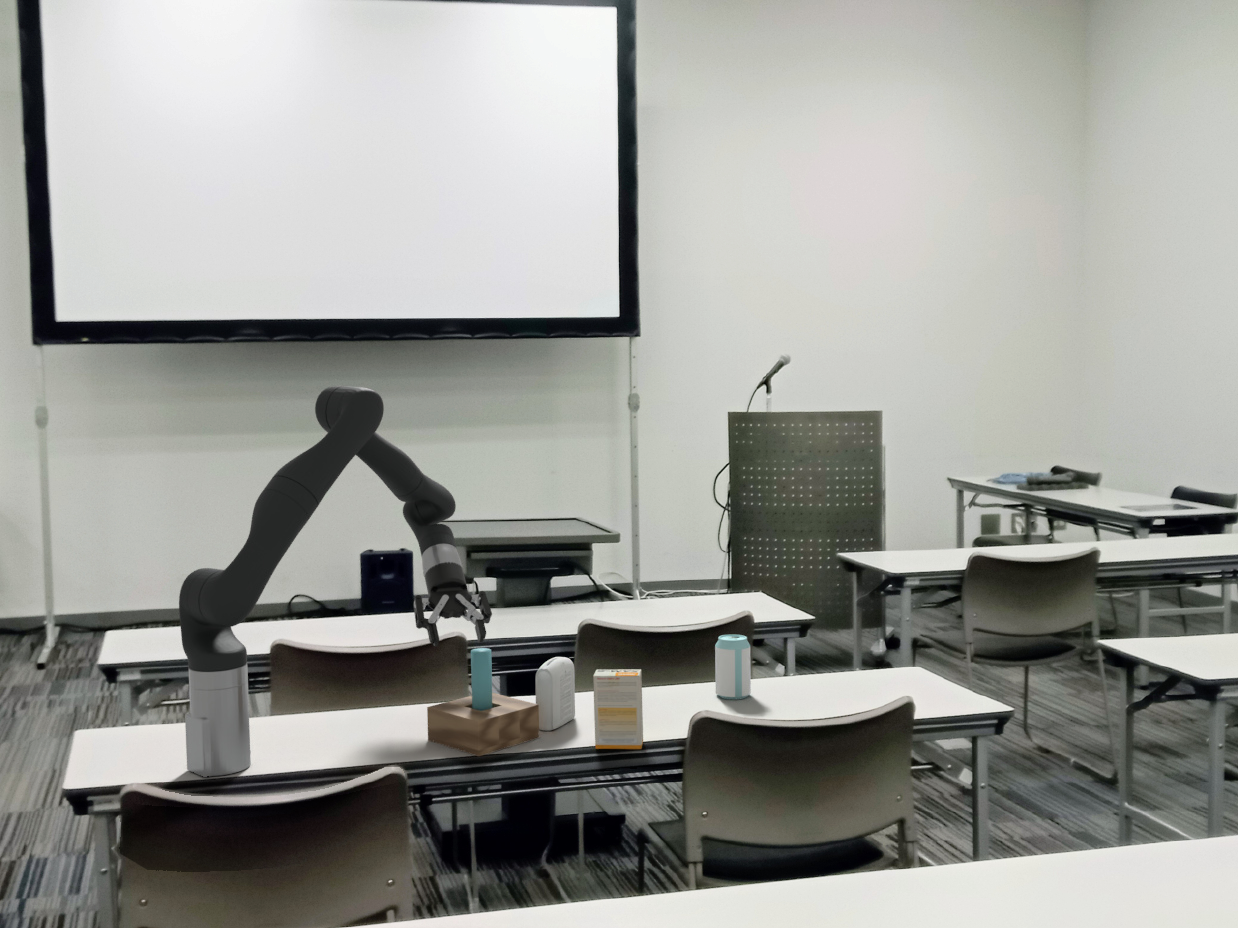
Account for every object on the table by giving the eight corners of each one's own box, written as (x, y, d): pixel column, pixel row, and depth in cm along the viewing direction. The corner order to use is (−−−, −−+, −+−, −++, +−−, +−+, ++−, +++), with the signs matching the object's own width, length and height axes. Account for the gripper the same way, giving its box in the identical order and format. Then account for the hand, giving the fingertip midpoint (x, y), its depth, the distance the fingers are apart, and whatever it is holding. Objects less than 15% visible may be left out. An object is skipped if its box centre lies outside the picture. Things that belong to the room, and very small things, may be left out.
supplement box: (643, 741, 203) (642, 668, 202) (641, 750, 198) (640, 675, 198) (597, 741, 204) (596, 667, 203) (593, 749, 199) (592, 674, 198)
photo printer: (557, 715, 220) (556, 651, 220) (578, 717, 219) (577, 653, 218) (532, 730, 211) (531, 663, 210) (553, 732, 209) (552, 665, 209)
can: (711, 692, 236) (711, 634, 235) (744, 690, 237) (744, 632, 236) (720, 701, 229) (720, 641, 228) (755, 699, 230) (754, 639, 229)
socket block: (478, 756, 196) (477, 721, 196) (428, 740, 206) (427, 706, 205) (539, 737, 206) (538, 704, 206) (488, 722, 216) (487, 691, 216)
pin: (481, 737, 204) (479, 653, 203) (468, 733, 206) (466, 650, 205) (497, 732, 206) (495, 650, 205) (484, 729, 209) (482, 647, 208)
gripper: (410, 562, 219) (424, 633, 209) (482, 558, 225) (500, 627, 215) (404, 586, 225) (418, 656, 215) (475, 582, 230) (492, 650, 220)
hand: (459, 641), depth 215 cm, fingers open, 8 cm apart
